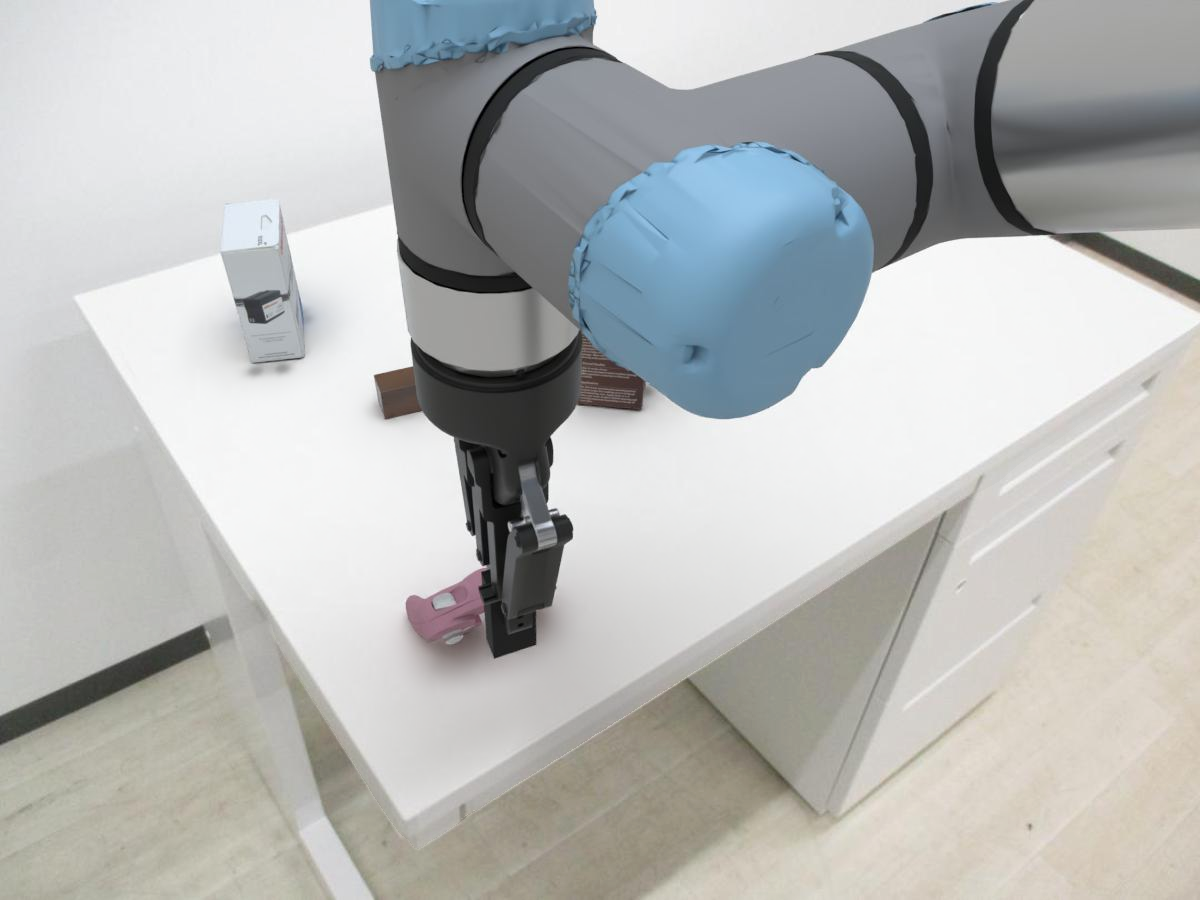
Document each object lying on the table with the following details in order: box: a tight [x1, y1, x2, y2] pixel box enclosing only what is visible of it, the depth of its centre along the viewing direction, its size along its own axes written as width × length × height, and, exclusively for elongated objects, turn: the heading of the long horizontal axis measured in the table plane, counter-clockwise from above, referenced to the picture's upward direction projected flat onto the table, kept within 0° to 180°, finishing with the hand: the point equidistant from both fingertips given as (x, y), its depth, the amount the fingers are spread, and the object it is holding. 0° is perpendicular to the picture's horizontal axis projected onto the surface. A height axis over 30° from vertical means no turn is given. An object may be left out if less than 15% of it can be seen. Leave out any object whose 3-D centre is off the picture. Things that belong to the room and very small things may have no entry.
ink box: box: [219, 198, 306, 363], centre depth 85 cm, size 8×5×12 cm, turn 14°
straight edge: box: [373, 365, 423, 420], centre depth 85 cm, size 2×33×3 cm, turn 113°
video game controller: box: [405, 567, 558, 645], centre depth 64 cm, size 10×5×7 cm, turn 118°
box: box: [577, 331, 647, 411], centre depth 80 cm, size 6×4×12 cm
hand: (511, 641), depth 57 cm, fingers closed
